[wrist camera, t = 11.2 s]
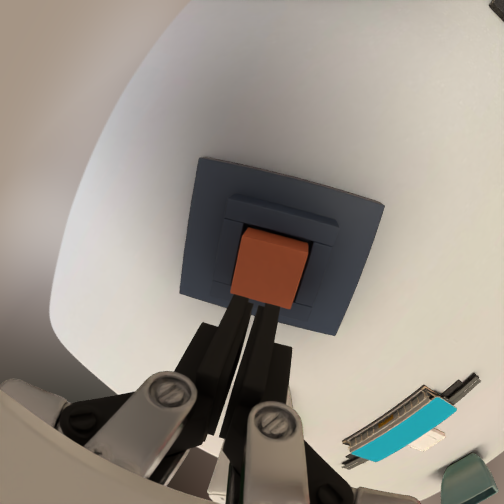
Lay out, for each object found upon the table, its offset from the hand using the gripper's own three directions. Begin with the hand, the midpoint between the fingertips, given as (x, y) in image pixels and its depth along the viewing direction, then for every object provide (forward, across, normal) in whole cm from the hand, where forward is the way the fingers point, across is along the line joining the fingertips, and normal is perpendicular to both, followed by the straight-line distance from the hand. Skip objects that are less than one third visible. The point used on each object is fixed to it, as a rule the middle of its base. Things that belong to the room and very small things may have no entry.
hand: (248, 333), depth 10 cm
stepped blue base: (+10, 0, 0) cm, 10 cm away
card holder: (+10, -21, +17) cm, 29 cm away
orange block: (+8, 0, 0) cm, 8 cm away
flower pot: (+10, -40, +27) cm, 50 cm away
